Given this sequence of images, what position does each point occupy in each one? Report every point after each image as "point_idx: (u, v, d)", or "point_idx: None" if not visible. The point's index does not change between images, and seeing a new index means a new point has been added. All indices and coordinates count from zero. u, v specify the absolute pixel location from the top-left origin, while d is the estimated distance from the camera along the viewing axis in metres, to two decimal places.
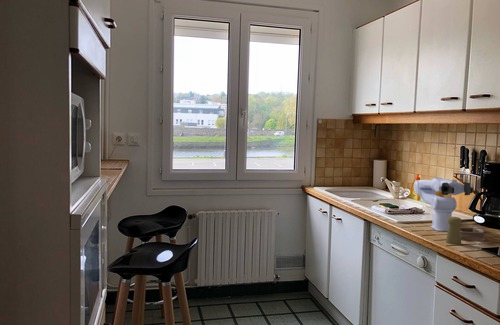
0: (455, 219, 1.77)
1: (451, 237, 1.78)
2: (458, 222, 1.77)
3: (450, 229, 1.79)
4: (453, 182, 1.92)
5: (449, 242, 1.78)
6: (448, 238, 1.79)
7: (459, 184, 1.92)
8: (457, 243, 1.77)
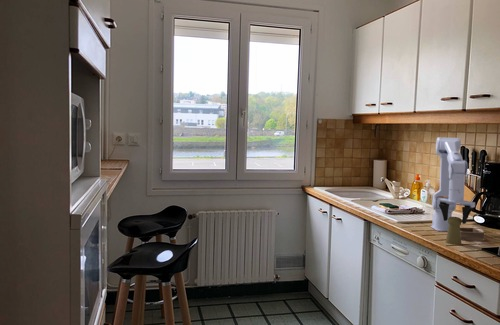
0: (455, 219, 1.77)
1: (451, 237, 1.78)
2: (458, 222, 1.77)
3: (450, 229, 1.79)
4: (451, 202, 1.77)
5: (449, 242, 1.78)
6: (448, 238, 1.79)
7: None
8: (457, 243, 1.77)
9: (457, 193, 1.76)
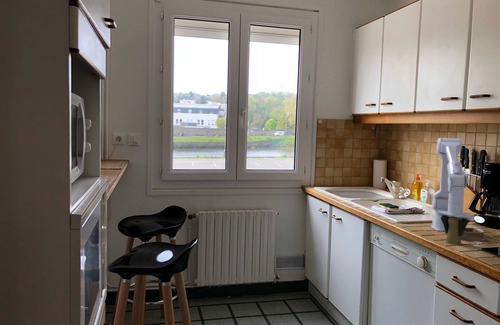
0: (455, 219, 1.77)
1: (451, 237, 1.78)
2: (458, 222, 1.77)
3: (450, 229, 1.79)
4: (451, 215, 1.78)
5: (449, 242, 1.78)
6: (448, 238, 1.79)
7: None
8: (457, 243, 1.77)
9: (456, 206, 1.76)
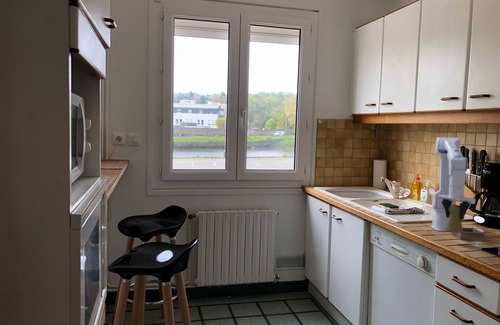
0: (455, 206, 1.77)
1: (452, 225, 1.77)
2: (458, 209, 1.76)
3: (450, 217, 1.78)
4: (452, 199, 1.77)
5: (449, 230, 1.78)
6: (449, 226, 1.78)
7: (459, 199, 1.76)
8: (458, 231, 1.76)
9: (457, 189, 1.75)
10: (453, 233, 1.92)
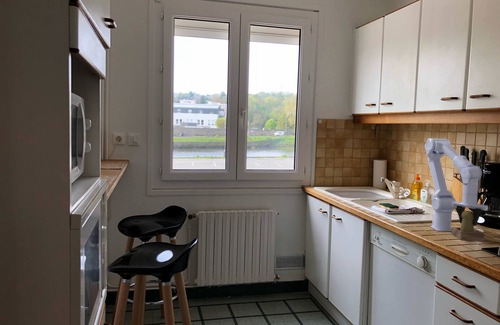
0: (468, 213, 1.86)
1: (464, 230, 1.87)
2: (471, 216, 1.85)
3: (463, 222, 1.87)
4: (465, 205, 1.87)
5: None
6: None
7: (472, 206, 1.85)
8: None
9: (471, 197, 1.85)
10: (453, 233, 1.92)
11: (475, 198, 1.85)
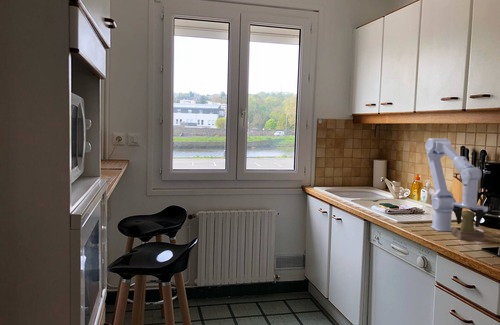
0: (468, 213, 1.86)
1: (464, 230, 1.87)
2: (471, 216, 1.85)
3: (463, 222, 1.87)
4: (465, 206, 1.87)
5: None
6: None
7: (472, 207, 1.85)
8: None
9: (470, 198, 1.85)
10: (453, 233, 1.92)
11: (475, 199, 1.85)
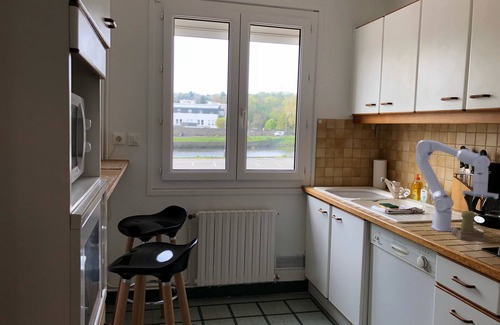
0: (468, 213, 1.86)
1: (464, 230, 1.87)
2: (471, 216, 1.85)
3: (463, 222, 1.87)
4: None
5: None
6: None
7: None
8: None
9: (481, 186, 1.90)
10: (453, 233, 1.92)
11: (486, 187, 1.91)
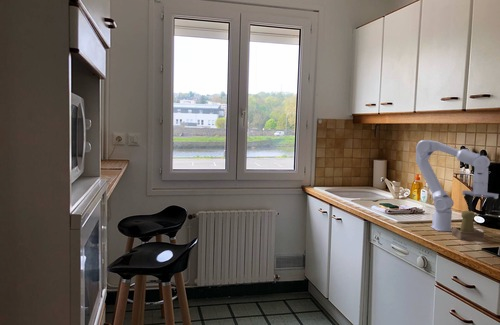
0: (468, 213, 1.86)
1: (464, 230, 1.87)
2: (471, 216, 1.85)
3: (463, 222, 1.87)
4: None
5: None
6: None
7: None
8: None
9: (481, 186, 1.90)
10: (453, 233, 1.92)
11: (486, 187, 1.91)
